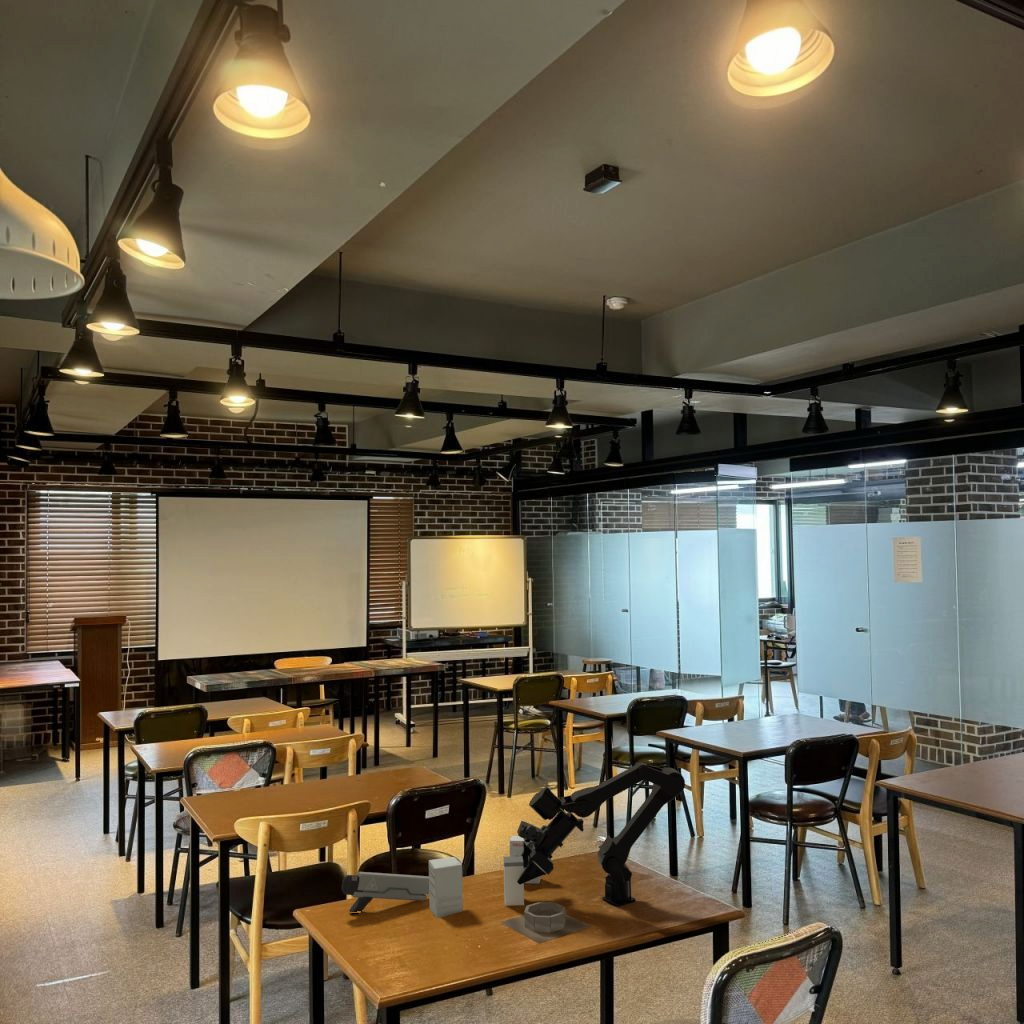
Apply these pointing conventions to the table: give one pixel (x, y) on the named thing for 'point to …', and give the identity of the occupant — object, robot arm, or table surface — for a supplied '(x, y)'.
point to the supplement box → (445, 886)
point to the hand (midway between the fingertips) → (516, 877)
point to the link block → (513, 881)
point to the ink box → (519, 852)
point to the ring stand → (544, 922)
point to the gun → (384, 887)
